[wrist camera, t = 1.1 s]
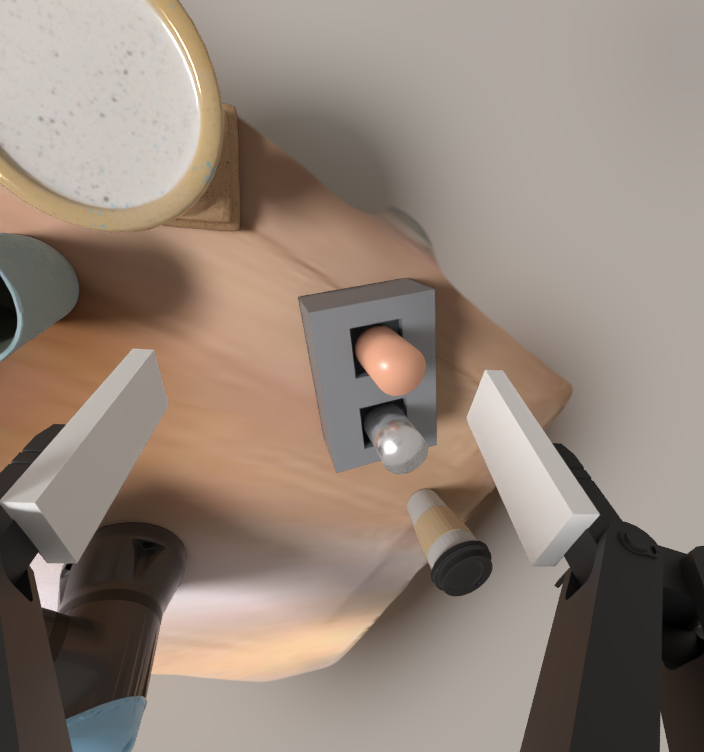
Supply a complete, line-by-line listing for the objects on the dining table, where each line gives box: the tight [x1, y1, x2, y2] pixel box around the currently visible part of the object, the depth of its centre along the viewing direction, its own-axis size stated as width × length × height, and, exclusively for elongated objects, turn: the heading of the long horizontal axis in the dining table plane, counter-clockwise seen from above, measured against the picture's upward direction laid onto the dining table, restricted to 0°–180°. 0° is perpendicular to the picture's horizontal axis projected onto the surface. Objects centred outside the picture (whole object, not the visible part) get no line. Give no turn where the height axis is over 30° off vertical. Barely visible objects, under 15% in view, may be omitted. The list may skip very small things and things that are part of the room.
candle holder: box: [0, 0, 240, 232], centre depth 24 cm, size 11×11×24 cm
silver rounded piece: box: [364, 403, 428, 474], centre depth 41 cm, size 5×5×7 cm
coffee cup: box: [407, 489, 492, 596], centre depth 56 cm, size 9×9×15 cm
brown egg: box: [355, 325, 426, 396], centre depth 37 cm, size 5×5×7 cm
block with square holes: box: [298, 278, 437, 473], centre depth 45 cm, size 21×14×8 cm, turn 7°
